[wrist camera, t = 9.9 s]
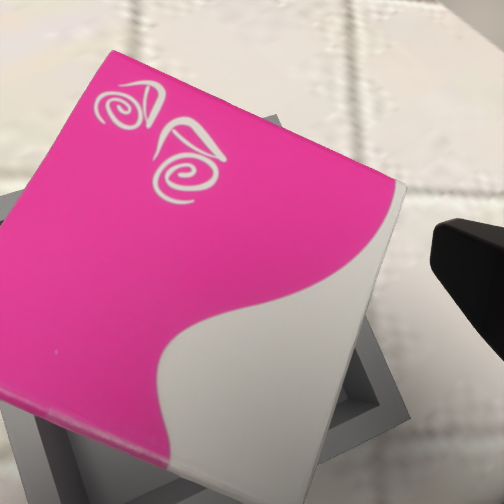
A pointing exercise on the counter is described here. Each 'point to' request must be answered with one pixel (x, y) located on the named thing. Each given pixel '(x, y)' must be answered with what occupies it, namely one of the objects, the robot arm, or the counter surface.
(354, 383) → the bin
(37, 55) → the counter surface
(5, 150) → the counter surface
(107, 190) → the supplement box
